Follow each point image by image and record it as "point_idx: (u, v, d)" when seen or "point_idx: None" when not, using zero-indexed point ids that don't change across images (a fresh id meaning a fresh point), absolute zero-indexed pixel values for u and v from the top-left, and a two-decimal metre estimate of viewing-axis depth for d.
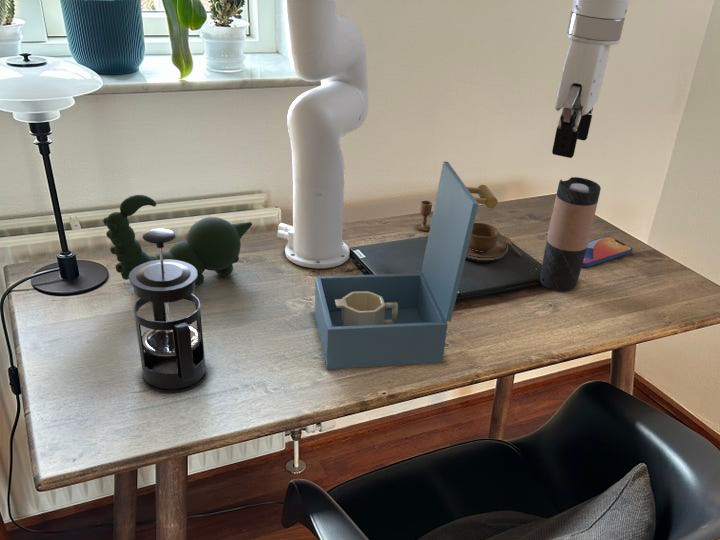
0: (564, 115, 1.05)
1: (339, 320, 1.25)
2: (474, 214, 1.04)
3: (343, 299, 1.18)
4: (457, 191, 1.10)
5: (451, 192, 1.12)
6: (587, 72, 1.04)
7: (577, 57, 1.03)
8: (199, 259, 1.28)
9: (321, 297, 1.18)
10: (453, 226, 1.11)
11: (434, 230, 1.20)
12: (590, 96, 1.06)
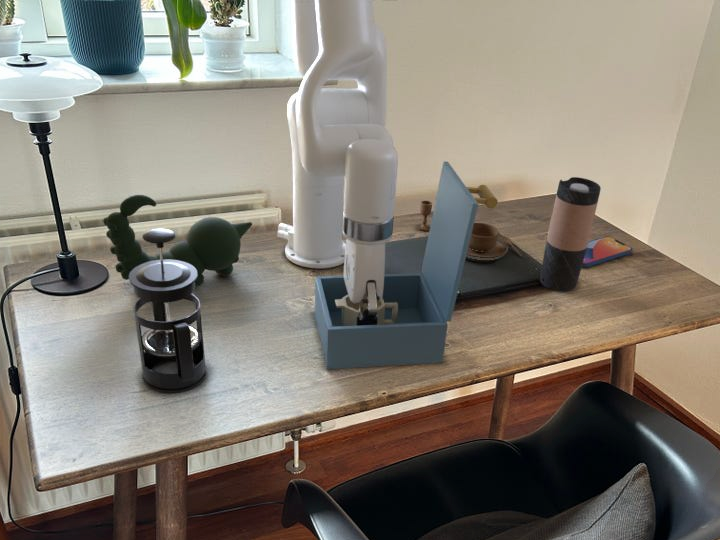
0: (369, 314, 1.12)
1: (339, 320, 1.25)
2: (474, 214, 1.04)
3: (343, 299, 1.18)
4: (457, 191, 1.10)
5: (451, 192, 1.12)
6: (378, 269, 1.10)
7: (367, 259, 1.09)
8: (199, 259, 1.28)
9: (321, 297, 1.18)
10: (453, 226, 1.11)
11: (434, 230, 1.20)
12: (383, 286, 1.12)
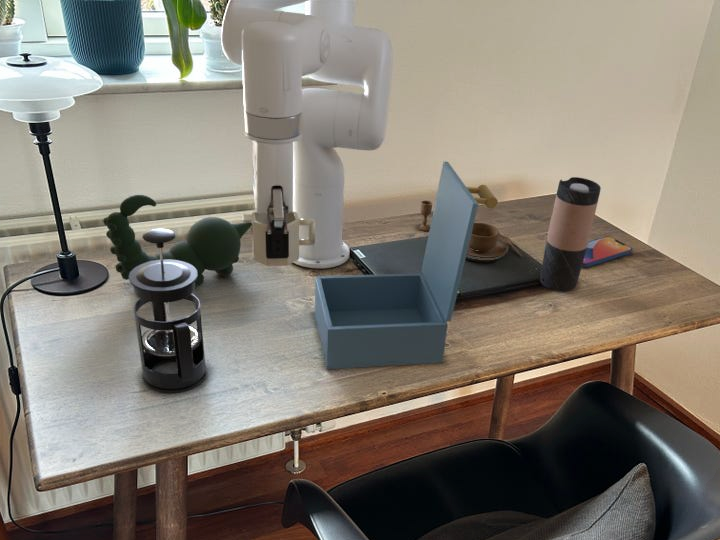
0: (276, 225, 0.99)
1: (339, 320, 1.25)
2: (474, 214, 1.04)
3: (252, 214, 1.06)
4: (457, 191, 1.10)
5: (451, 192, 1.12)
6: (284, 173, 0.98)
7: (270, 160, 0.96)
8: (199, 259, 1.28)
9: (321, 297, 1.18)
10: (453, 226, 1.11)
11: (434, 230, 1.20)
12: (292, 194, 1.00)
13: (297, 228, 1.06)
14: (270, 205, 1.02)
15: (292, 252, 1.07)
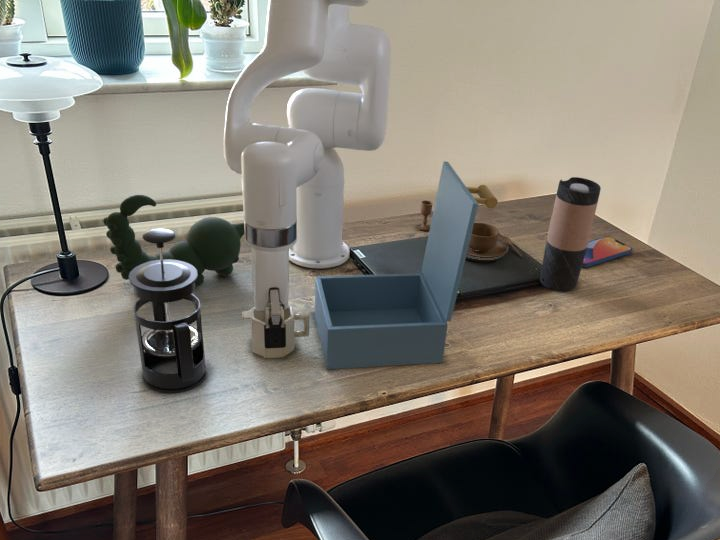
0: (273, 321, 1.07)
1: (339, 320, 1.25)
2: (474, 214, 1.04)
3: (251, 310, 1.15)
4: (457, 191, 1.10)
5: (451, 192, 1.12)
6: (280, 276, 1.06)
7: (267, 266, 1.05)
8: (199, 259, 1.28)
9: (321, 297, 1.18)
10: (453, 226, 1.11)
11: (434, 230, 1.20)
12: None
13: (292, 323, 1.15)
14: (268, 302, 1.10)
15: (288, 345, 1.16)
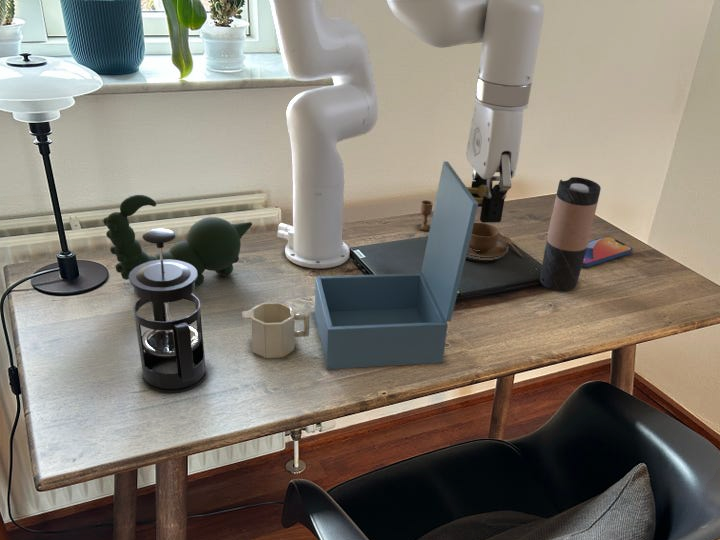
0: (501, 190, 1.05)
1: (339, 320, 1.25)
2: (474, 214, 1.04)
3: (251, 310, 1.15)
4: (457, 191, 1.10)
5: (451, 192, 1.12)
6: (515, 139, 1.03)
7: (504, 126, 1.01)
8: (199, 259, 1.28)
9: (321, 297, 1.18)
10: (453, 226, 1.11)
11: (434, 230, 1.20)
12: None
13: (292, 323, 1.15)
14: None
15: (288, 345, 1.16)
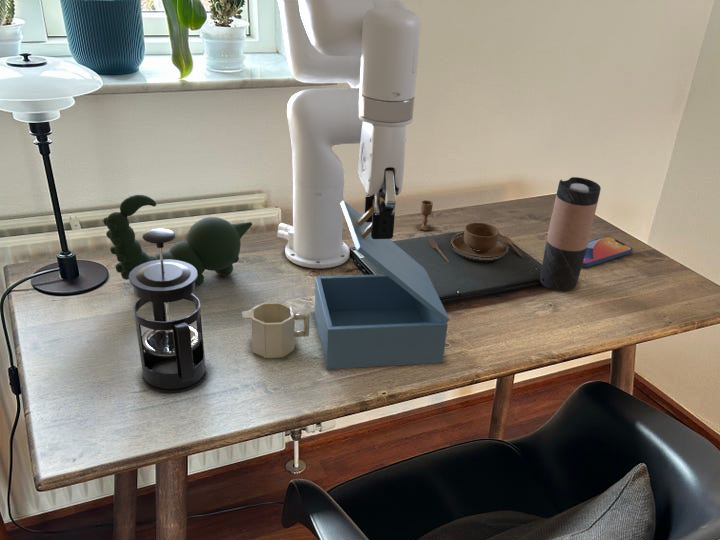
0: (386, 207, 1.03)
1: (339, 320, 1.25)
2: (367, 254, 1.04)
3: (251, 310, 1.15)
4: None
5: None
6: (398, 155, 1.00)
7: (385, 142, 0.99)
8: (199, 259, 1.28)
9: (321, 297, 1.18)
10: None
11: None
12: None
13: (292, 323, 1.15)
14: (379, 187, 1.05)
15: (288, 345, 1.16)
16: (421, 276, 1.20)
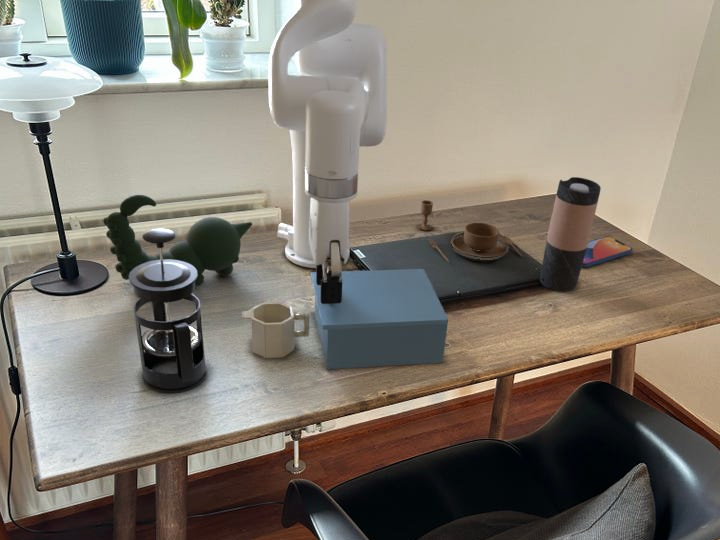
0: (332, 277, 1.08)
1: None
2: (333, 326, 1.10)
3: (251, 310, 1.15)
4: None
5: None
6: (342, 228, 1.05)
7: (329, 217, 1.04)
8: (199, 259, 1.28)
9: None
10: None
11: None
12: (348, 247, 1.07)
13: (292, 323, 1.15)
14: (326, 256, 1.09)
15: (288, 345, 1.16)
16: (414, 287, 1.21)
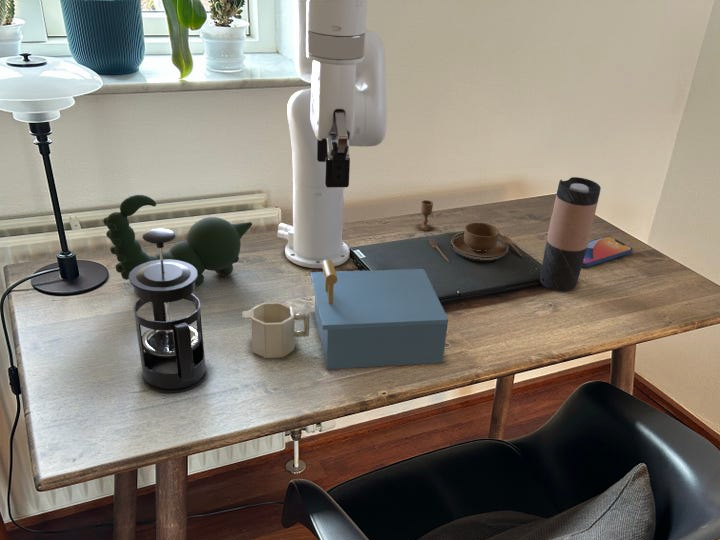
0: (339, 146, 0.95)
1: None
2: (333, 326, 1.10)
3: (251, 310, 1.15)
4: None
5: None
6: (347, 95, 0.95)
7: (333, 81, 0.93)
8: (199, 259, 1.28)
9: None
10: None
11: None
12: (354, 119, 0.97)
13: (292, 323, 1.15)
14: (331, 130, 0.98)
15: (288, 345, 1.16)
16: (414, 287, 1.21)
